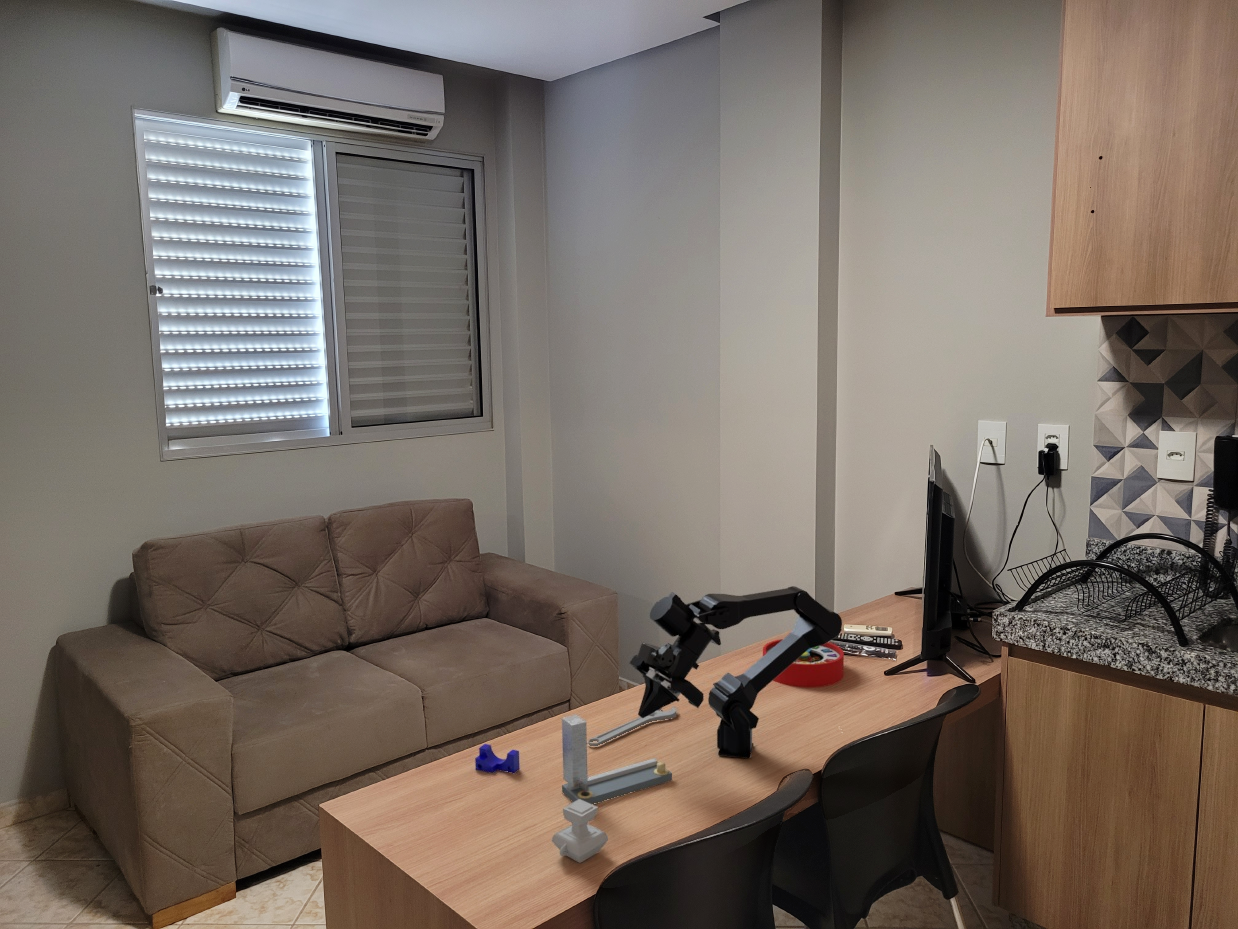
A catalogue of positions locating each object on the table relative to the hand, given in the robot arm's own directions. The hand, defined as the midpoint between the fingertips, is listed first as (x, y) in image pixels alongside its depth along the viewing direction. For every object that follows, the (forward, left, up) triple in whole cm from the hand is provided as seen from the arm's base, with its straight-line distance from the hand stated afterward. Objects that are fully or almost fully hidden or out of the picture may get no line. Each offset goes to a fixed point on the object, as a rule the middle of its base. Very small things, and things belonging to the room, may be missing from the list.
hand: (640, 716), depth 172 cm
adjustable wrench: (+7, -21, -13) cm, 25 cm away
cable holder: (+28, +4, -12) cm, 31 cm away
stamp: (+4, +29, -12) cm, 31 cm away
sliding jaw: (+9, +11, -10) cm, 17 cm away
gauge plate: (+3, +5, -12) cm, 13 cm away
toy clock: (-27, -62, -12) cm, 69 cm away
